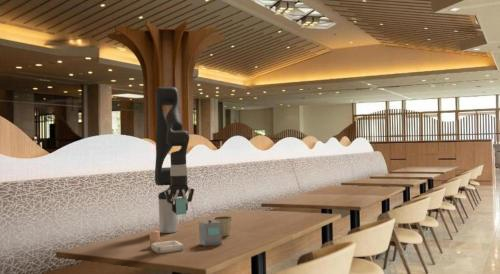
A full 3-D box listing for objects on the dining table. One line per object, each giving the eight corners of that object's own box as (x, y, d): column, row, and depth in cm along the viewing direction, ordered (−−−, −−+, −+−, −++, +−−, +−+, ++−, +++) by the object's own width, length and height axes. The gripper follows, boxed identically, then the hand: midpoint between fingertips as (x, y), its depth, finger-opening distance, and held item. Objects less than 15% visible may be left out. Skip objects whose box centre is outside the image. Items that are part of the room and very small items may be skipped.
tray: (151, 248, 225) (151, 243, 225) (175, 245, 229) (175, 240, 229) (158, 253, 215) (157, 247, 215) (183, 250, 219) (183, 244, 219)
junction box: (199, 244, 232) (198, 220, 232) (216, 241, 235) (215, 218, 235) (205, 246, 225) (204, 222, 225) (222, 244, 229) (221, 220, 229)
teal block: (173, 213, 235) (173, 198, 235) (183, 212, 237) (182, 197, 237) (176, 214, 231) (176, 199, 231) (186, 214, 233) (185, 198, 233)
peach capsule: (148, 246, 230) (148, 231, 230) (158, 245, 232) (158, 229, 232) (151, 248, 226) (150, 232, 226) (161, 247, 228) (160, 231, 228)
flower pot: (215, 237, 246) (215, 219, 246) (211, 234, 255) (211, 217, 255) (234, 236, 248) (234, 218, 248) (230, 233, 257) (229, 215, 257)
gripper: (191, 173, 240) (192, 209, 241) (161, 174, 234) (162, 212, 234) (196, 174, 234) (197, 211, 234) (165, 176, 228) (166, 214, 228)
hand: (179, 211), depth 234 cm, fingers closed on teal block, 4 cm apart
